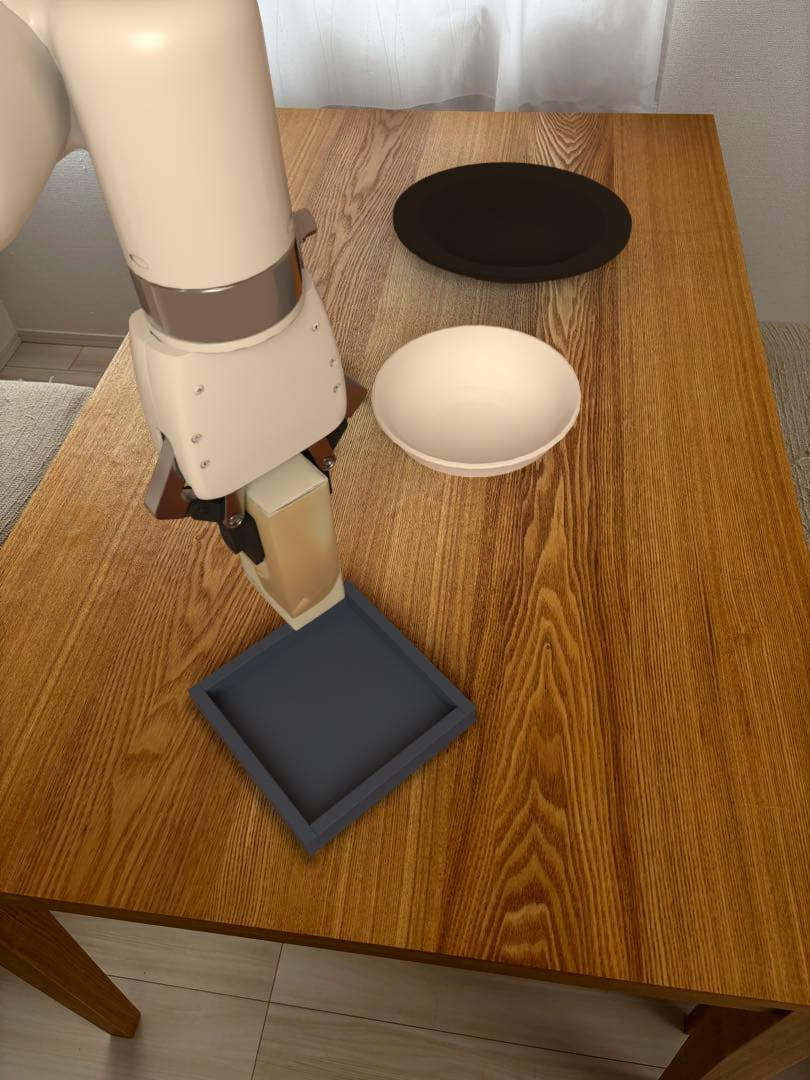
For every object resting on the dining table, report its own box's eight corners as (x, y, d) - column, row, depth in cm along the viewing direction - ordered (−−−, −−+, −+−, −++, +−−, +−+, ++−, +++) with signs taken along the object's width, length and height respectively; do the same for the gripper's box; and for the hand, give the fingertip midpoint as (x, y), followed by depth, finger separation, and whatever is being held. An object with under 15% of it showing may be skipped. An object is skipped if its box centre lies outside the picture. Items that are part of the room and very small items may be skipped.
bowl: (410, 358, 95) (407, 310, 90) (590, 390, 90) (598, 341, 85) (348, 489, 83) (341, 442, 78) (551, 532, 79) (558, 486, 74)
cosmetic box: (243, 577, 60) (203, 454, 50) (294, 543, 61) (265, 418, 52) (298, 636, 57) (266, 517, 47) (350, 599, 58) (330, 476, 49)
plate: (367, 297, 102) (363, 256, 98) (428, 191, 116) (426, 150, 111) (605, 336, 96) (612, 294, 91) (639, 219, 109) (647, 177, 105)
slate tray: (310, 856, 62) (306, 844, 60) (194, 704, 70) (187, 689, 68) (475, 722, 68) (476, 707, 66) (351, 595, 76) (348, 579, 74)
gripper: (318, 176, 45) (351, 431, 59) (12, 318, 38) (132, 564, 53) (413, 236, 41) (423, 492, 55) (91, 403, 35) (197, 644, 49)
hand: (281, 525), depth 54 cm, fingers closed on cosmetic box, 4 cm apart
